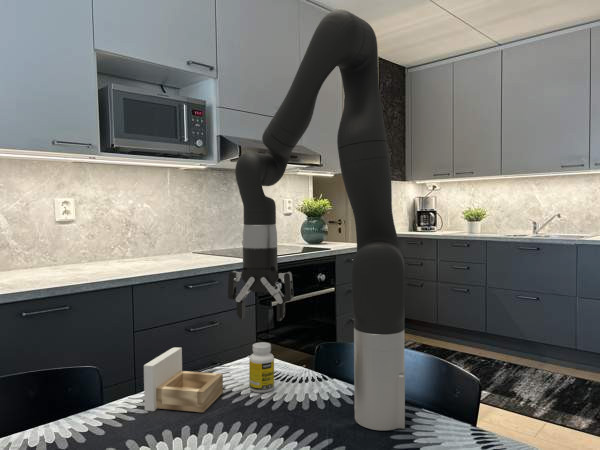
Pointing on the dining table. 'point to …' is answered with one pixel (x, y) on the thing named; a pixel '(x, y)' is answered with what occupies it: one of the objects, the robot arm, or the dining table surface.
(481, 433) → the dining table surface
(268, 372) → the supplement bottle
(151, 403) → the backstop board
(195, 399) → the socket block
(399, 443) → the dining table surface
